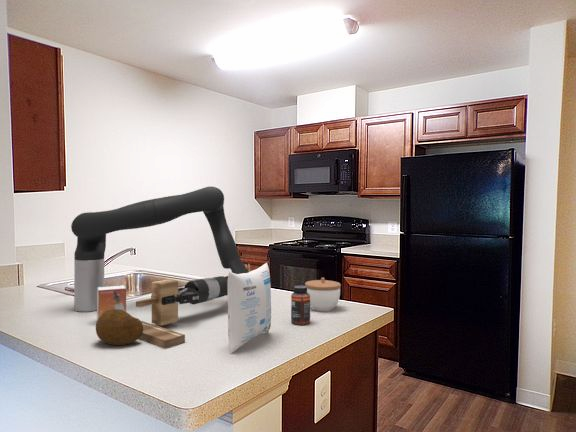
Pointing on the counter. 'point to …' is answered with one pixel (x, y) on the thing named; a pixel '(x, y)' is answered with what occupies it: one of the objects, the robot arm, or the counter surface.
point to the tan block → (159, 311)
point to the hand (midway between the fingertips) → (157, 300)
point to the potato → (118, 327)
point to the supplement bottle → (300, 306)
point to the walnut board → (161, 336)
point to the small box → (110, 299)
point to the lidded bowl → (323, 294)
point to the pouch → (248, 305)
